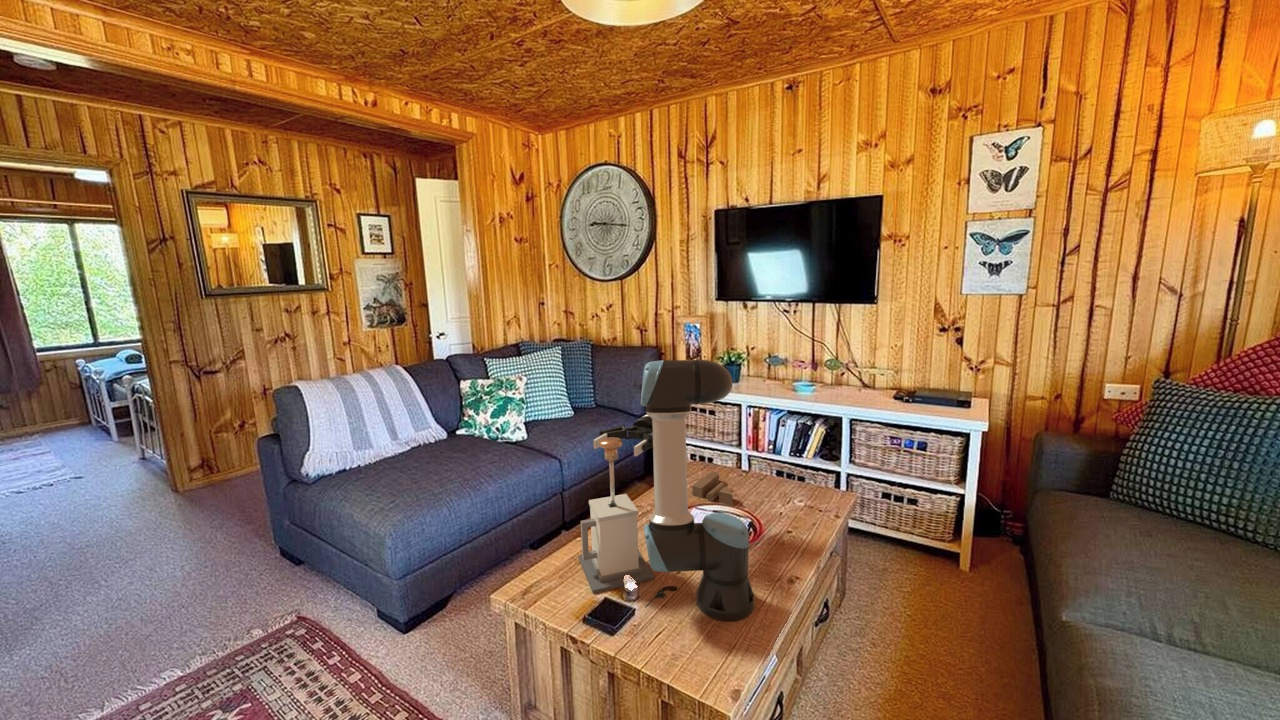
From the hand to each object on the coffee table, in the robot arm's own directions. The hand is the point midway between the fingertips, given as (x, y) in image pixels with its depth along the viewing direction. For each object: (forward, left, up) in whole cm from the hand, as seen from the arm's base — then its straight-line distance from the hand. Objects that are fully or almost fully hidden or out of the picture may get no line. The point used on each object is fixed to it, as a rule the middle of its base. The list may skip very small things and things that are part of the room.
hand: (614, 448), depth 147 cm
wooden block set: (+32, -51, -37) cm, 71 cm away
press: (-2, +3, -36) cm, 36 cm away
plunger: (-2, +2, -20) cm, 20 cm away
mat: (-2, +2, -37) cm, 37 cm away
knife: (-20, -5, -37) cm, 43 cm away
